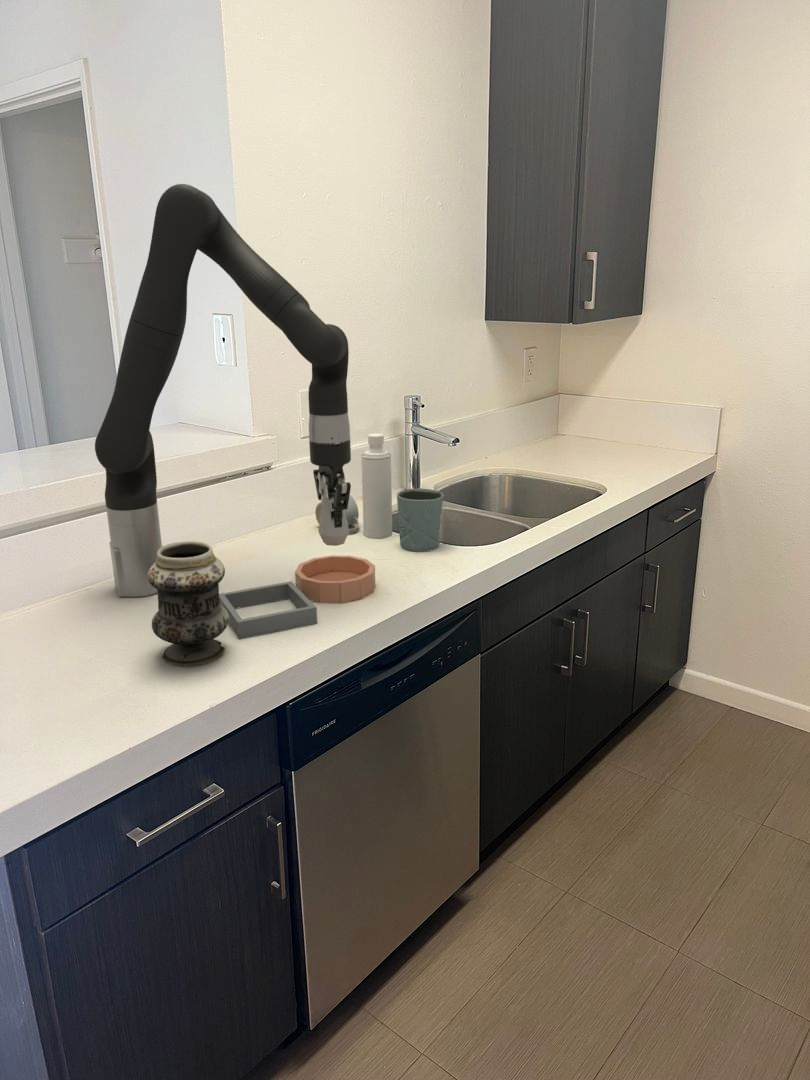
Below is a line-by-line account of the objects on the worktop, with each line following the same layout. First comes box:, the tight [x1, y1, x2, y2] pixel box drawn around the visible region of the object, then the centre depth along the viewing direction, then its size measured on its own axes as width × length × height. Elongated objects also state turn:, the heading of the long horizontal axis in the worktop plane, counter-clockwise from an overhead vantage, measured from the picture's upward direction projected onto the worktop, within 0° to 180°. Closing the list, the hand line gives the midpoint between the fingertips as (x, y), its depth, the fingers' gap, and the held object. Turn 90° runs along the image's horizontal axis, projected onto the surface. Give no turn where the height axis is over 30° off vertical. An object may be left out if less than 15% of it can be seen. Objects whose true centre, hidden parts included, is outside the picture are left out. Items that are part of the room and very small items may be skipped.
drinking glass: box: [396, 488, 444, 553], centre depth 182 cm, size 10×10×12 cm
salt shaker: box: [318, 478, 350, 547], centre depth 156 cm, size 6×6×13 cm
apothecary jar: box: [148, 540, 229, 668], centre depth 131 cm, size 12×12×18 cm
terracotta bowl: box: [294, 554, 376, 604], centre depth 160 cm, size 15×15×4 cm
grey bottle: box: [361, 432, 393, 539], centre depth 188 cm, size 7×7×25 cm
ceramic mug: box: [314, 495, 360, 535], centre depth 195 cm, size 11×8×8 cm
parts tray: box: [219, 580, 318, 639], centre depth 148 cm, size 14×14×3 cm
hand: (333, 526), depth 157 cm, fingers closed on salt shaker, 3 cm apart
